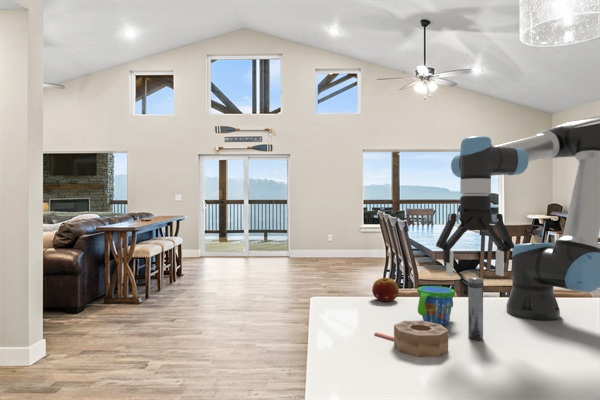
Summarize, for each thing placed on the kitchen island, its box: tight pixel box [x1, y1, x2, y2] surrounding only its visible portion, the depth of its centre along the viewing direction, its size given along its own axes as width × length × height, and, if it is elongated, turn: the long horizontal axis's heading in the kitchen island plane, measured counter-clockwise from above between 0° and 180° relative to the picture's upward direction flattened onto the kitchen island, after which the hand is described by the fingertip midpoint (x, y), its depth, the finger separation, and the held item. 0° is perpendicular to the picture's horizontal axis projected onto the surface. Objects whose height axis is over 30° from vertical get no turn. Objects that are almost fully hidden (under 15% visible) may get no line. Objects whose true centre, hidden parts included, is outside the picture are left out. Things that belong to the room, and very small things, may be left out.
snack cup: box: [416, 285, 456, 326], centre depth 125 cm, size 16×10×10 cm
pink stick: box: [374, 332, 394, 342], centre depth 109 cm, size 12×1×1 cm, turn 43°
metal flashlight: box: [467, 276, 484, 342], centre depth 110 cm, size 4×4×16 cm
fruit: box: [371, 277, 400, 302], centre depth 153 cm, size 10×9×8 cm
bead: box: [393, 320, 449, 358], centre depth 103 cm, size 12×12×5 cm
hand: (474, 275), depth 110 cm, fingers open, 13 cm apart
